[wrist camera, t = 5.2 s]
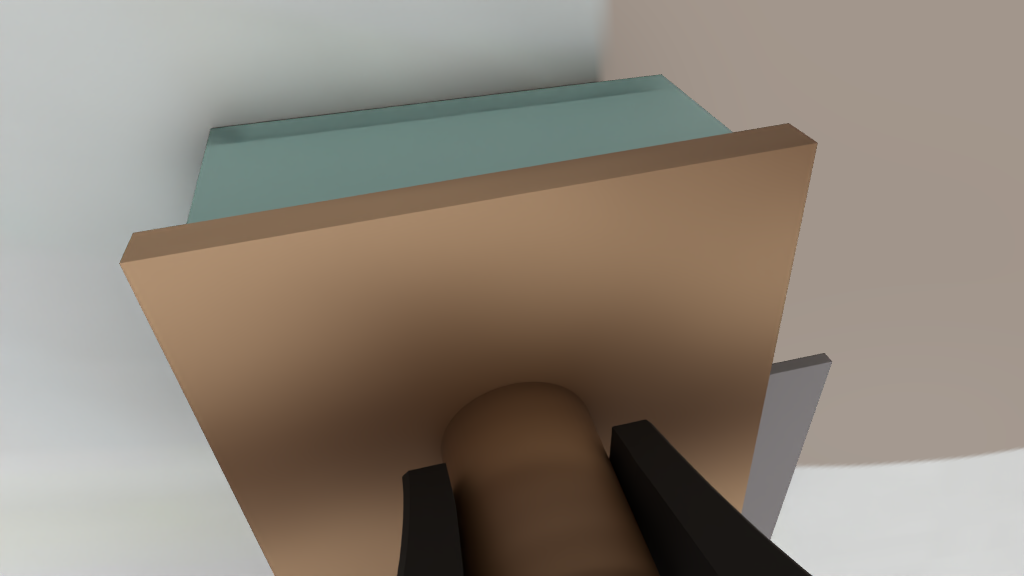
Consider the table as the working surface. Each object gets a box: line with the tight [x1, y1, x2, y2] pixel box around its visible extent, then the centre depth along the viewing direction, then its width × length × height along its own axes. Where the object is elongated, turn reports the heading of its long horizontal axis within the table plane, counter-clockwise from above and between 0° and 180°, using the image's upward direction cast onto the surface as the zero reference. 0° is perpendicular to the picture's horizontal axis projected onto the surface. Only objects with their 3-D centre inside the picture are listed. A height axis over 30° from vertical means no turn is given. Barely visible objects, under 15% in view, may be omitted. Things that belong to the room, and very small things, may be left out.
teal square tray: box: [187, 74, 733, 224], centre depth 15 cm, size 9×9×4 cm
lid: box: [119, 123, 817, 576], centre depth 11 cm, size 10×10×4 cm
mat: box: [741, 353, 832, 540], centre depth 24 cm, size 12×12×1 cm
